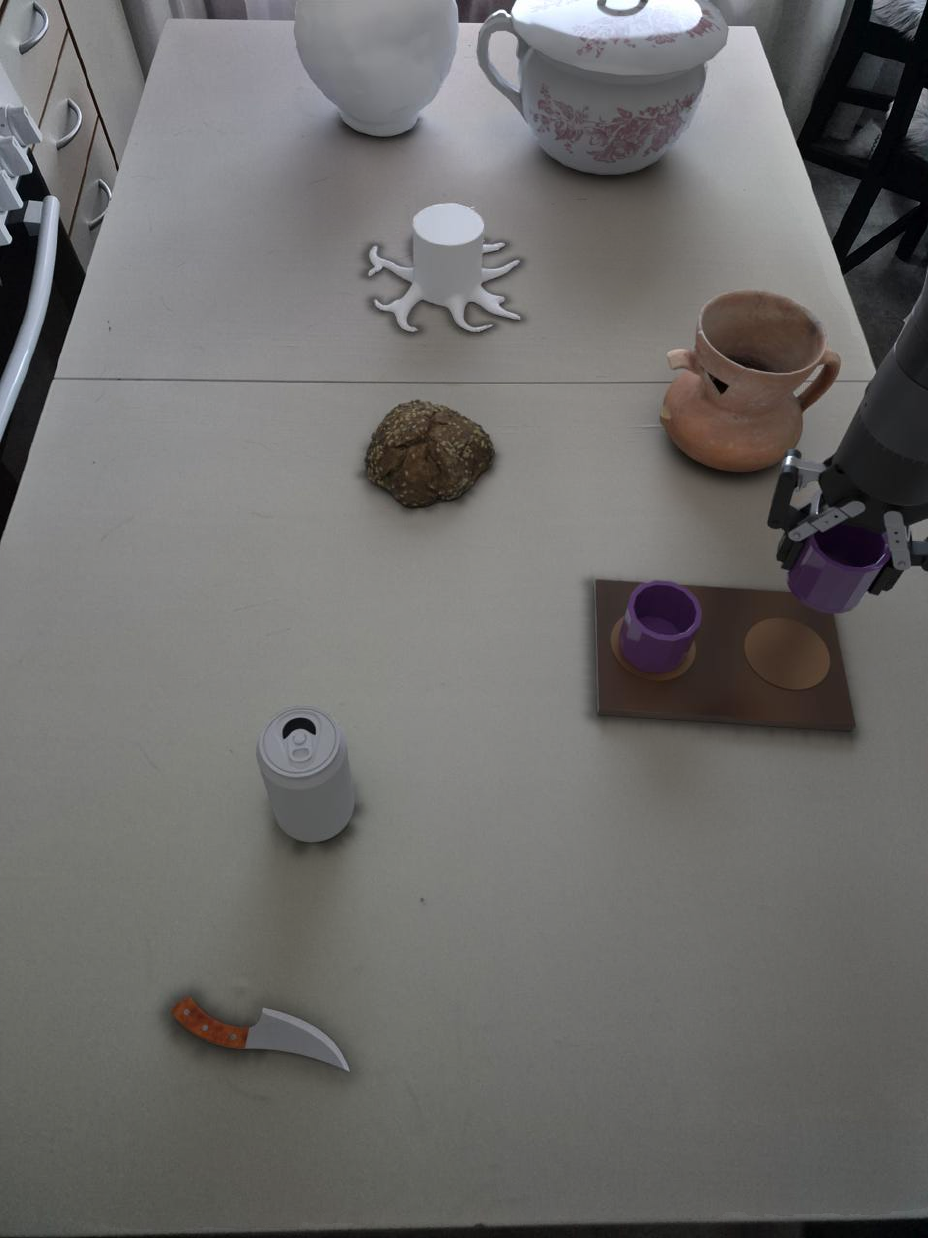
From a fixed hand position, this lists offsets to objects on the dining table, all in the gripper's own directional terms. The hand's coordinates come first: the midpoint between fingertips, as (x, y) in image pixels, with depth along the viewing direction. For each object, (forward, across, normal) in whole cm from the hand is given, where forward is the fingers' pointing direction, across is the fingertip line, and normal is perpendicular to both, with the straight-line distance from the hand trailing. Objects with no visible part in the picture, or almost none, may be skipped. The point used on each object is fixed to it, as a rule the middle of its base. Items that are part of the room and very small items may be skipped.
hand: (830, 573), depth 76 cm
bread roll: (+14, -38, +12) cm, 42 cm away
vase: (+14, -68, +72) cm, 100 cm away
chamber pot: (+14, -37, +77) cm, 86 cm away
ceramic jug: (+14, -9, +27) cm, 32 cm away
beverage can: (+14, -33, -27) cm, 45 cm away
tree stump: (+14, -46, +40) cm, 63 cm away
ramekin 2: (+1, 0, 0) cm, 1 cm away
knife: (+13, -30, -44) cm, 54 cm away
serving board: (+13, -5, -1) cm, 15 cm away
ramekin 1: (+12, -11, -3) cm, 17 cm away
